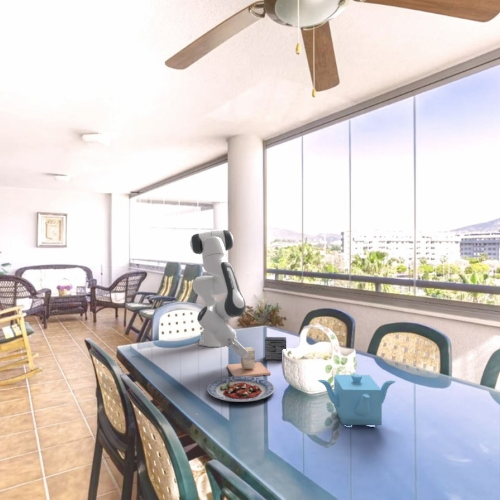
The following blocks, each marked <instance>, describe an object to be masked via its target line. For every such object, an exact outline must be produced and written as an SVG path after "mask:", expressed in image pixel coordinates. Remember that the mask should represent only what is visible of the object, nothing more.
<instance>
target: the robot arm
mask: <svg viewBox="0 0 500 500" xmlns="http://www.w3.org/2000/svg"><path fill="white" fill-rule="evenodd" d="M234 241H235V240H234V236H233V234H232V232H231V231H230V230H225V229H223V230H210V231H206V232H202V233H201V232H200V233H195V234H193V235H191V238H190V242H189V245H190V249H191V250H192V253H194V254H196V255H201V256H202V265H203V269H204V271H205V272H206V273H207V274H209V275H201V276H196V277H195V278H194V280H193V282H192V289H193V291H194V293H195V294H197V295H198V296H199V297H200V298H201V300H202V301H203V304H204V307H203V308H201V310H200V311H199V313H198V314H197V318H196V319H197V322H198V324H199V326H200V327H201V328H202V329H203V330H202V331H200V336H201V337H200V339H199V342H198V346H205V347H207V348H208V347H209V348H220V347H222V348H225V347H226V348H231V349H232V350H233V351H234V352H235V353H236V354H237V355H238V356H239V357H240V359H241V358H243V359H244V358H246V359H247V360H248V361H250V360H251V357H250V356H249V355H248V351H247V350H246V349H245V348H246V347H244V346H243V345H242V344H241V343H240V342H239V340H238V336H237V331H236V330H235V329H234V328H233V327H232V326H231V325H229V324H228V321H229V320H231V319H234V318H236V317H239V316H242V315H243V314H244V313H245V310H246V307H247V306H246V302H245V301H246V300H245V297H243V295H242V292H241V288H240V286H239V282H238V278H237V276H236V273H235V269H234V267H233V265H232V264H231V263H230V262H229V261H228V257H227V251H229V250H231V249H232V248H233V246H234ZM216 296H225V297H223V298H222V299H220V300H218V299H217V298H216Z"/></svg>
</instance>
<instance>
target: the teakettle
mask: <svg viewBox="0 0 500 500" xmlns="http://www.w3.org/2000/svg"><path fill="white" fill-rule="evenodd" d="M317 382H319V383H321V384H322V385H324V387H325V388H326V392H327V395H328V398H329V401H330V402H331V403H332V404H333V407H334V409H335V410H336V414H337V415H338V418H339V420H340V422H341V425H342V426H343V425H346V426H351V425H353V426H366V425H375V426H382V413H383V412H382V407H383V405H382V404H384V402H385V400H386V396H387V393H388V389H389V388H390V386H391V385H393V384H395V383H396V382H397V381H396V380H386V381H384V382H383V384H382V385H381V387H380V386H379V385H378V384H377V383H376V381H375V380H374V379H373V378H372V376H370V374H357V373H355V374H334V375H333V387H332V384H331V383H330V382H329V381H328V380H325V379H318V380H317Z"/></svg>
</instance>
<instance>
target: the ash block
mask: <svg viewBox="0 0 500 500" xmlns="http://www.w3.org/2000/svg"><path fill="white" fill-rule="evenodd" d="M244 348H245V349H246V350H247V351H248V355H249V356H250V357H251V360H250V361H248V360H247V359H246V358H244V359H243V358H241V357H240V364H241V366H242V367H243V369H251V368H255V359H256V358H255V357H256V354H255V353H256V352H255V351H256V350H255V349H254V347H244Z"/></svg>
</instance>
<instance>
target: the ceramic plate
mask: <svg viewBox="0 0 500 500" xmlns="http://www.w3.org/2000/svg"><path fill="white" fill-rule="evenodd" d="M275 390H276V389H275V385H274V384H273V383H272V381H271V382H270V381H269V380H266V379H263V378H261V377H258V376H254V377H250V376H234V377H233V376H227V377H223V378H219V379H216V380H214V381H212V382H211V383H209V385H208V386H207V393H208V394H210V396H212V397H213V398H215V399H219V400H222V401H227V402H236V403H237V402H238V403H239V402H241V403H243V402H246V403H247V402H253V401H254V402H255V401H259V400H260V401H261V400H262V399H266V398H268V397H270V396H271V395H272V394H274V392H275Z"/></svg>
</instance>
